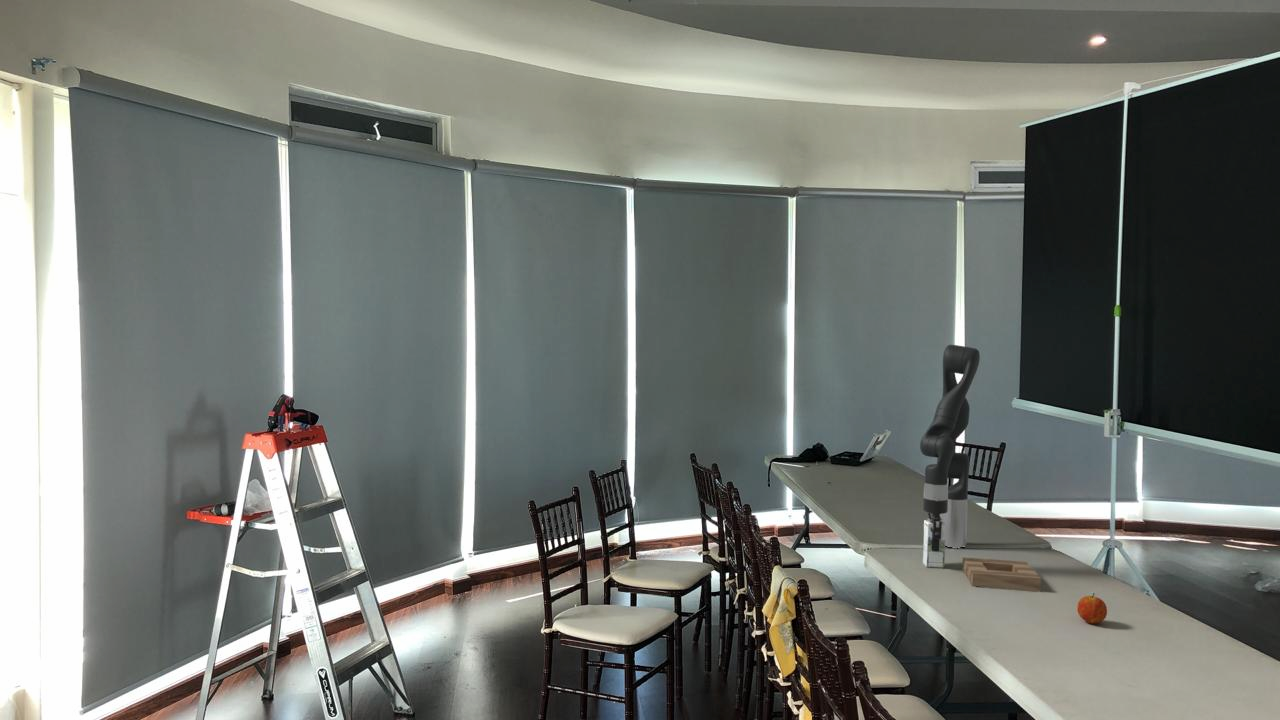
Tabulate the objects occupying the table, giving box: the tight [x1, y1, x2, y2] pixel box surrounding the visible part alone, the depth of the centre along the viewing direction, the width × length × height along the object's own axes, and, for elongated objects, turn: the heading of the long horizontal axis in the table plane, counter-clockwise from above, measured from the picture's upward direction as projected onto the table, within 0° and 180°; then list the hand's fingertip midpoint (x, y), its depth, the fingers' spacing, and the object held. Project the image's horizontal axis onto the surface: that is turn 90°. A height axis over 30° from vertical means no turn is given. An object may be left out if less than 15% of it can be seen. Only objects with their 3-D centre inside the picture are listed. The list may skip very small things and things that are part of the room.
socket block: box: [961, 557, 1042, 592], centre depth 269 cm, size 19×19×4 cm
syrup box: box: [922, 519, 946, 569], centre depth 284 cm, size 6×6×14 cm
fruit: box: [1076, 592, 1108, 625], centre depth 230 cm, size 7×7×8 cm
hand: (934, 548), depth 284 cm, fingers closed on syrup box, 6 cm apart
